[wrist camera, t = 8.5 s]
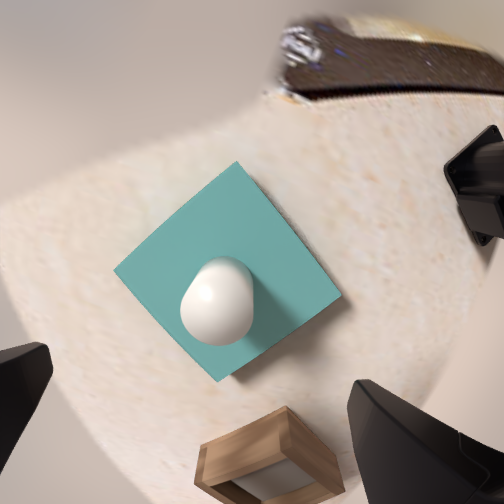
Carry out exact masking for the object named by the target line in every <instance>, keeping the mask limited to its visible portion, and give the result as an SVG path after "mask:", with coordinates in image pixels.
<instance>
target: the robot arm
mask: <svg viewBox="0 0 504 504" xmlns="http://www.w3.org/2000/svg"><path fill="white" fill-rule="evenodd" d="M493 131H494V133H493ZM450 167H451V168H452V173H451V172H450ZM444 173H445V175H446V177H447V179H448V181H449V183H450V185H451V187H452V189H453V191H454V193H455V195H456V200H457V202H458V204H459V206H460V208H461V211H462V213H463V215H464V217H465V219H466V222H467V224H468V226H469V229H470V230H472V232H473V235H474V237H475V240H476V242H477V244H478V245H480V246H485V245H487V244H488V243H489V242H490V240H491V239H492V238H493V237H494V236H495V237H499V238H502V239H504V140H503V138H502V136H501V133H500V131H499V129H498V128H497V126H496V125H489V126H488V127H487V128H486V129H485V130H483V131H482V132H481V133H480V134H479V135H478V136H477V137H476V138H474V139H473V140H472V141H471V142H470V143H469V144H468V145H467V146H465V147H464V148H463V149H462V150H461V151H460V152H459V153H457V154H456V155H455V156H454V157H453V158H452V159H450V160H449V161H448V162H447V163H446V164H445V165H444ZM482 237H483V240H482ZM52 374H53V365H52V360H51V356H50V352H49V348H48V346H47V345H46V344H43V343H40V342H32V343H29V344H25V345H21V346H18V347H13V348H9V349H6V350H1V351H0V474H1V472H2V470H3V468H4V466H5V464H6V462H7V460H8V459H9V457H10V455H11V453H12V451H13V449H14V447H15V445H16V443H17V442H18V440H19V438H20V436H21V434H22V433H23V431H24V429H25V427H26V426H27V424H28V422H29V420H30V419H31V417H32V415H33V413H34V412H35V410H36V408H37V406H38V404H39V401H40V399H41V397H42V395H43V393H44V391H45V389H46V387H47V385H48V382H49V380H50V378H51V376H52ZM347 412H348V417H349V423H350V429H351V435H352V442H353V448H354V453H355V457H356V460H357V464H358V467H359V471H360V474H361V478H362V481H363V485H364V488H365V492H366V495H367V499H368V502H369V504H504V453H503V452H500V451H498V450H495V449H493V448H490V447H488V446H486V445H484V444H482V443H480V442H478V441H476V440H474V439H472V438H470V437H468V436H466V435H464V434H463V433H461V432H459V433H458V431H457V430H455V429H454V428H452V427H450V426H448V425H446V424H444V423H443V422H441V421H439V420H437V419H436V418H434V417H432V416H430V415H429V414H427V413H425V412H423V411H422V410H420V409H418V408H417V407H415V406H413V405H411V404H410V403H408V402H406V401H405V400H403V399H401V398H399V397H398V396H396V395H394V394H393V393H391V392H389V391H388V390H386V389H384V388H383V387H381V386H379V385H378V384H376V383H374V382H373V381H371V380H369V379H362V380H356V381H355V382H354V384H353V387H352V390H351V393H350V397H349V400H348V404H347Z"/></svg>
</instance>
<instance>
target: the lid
mask: <svg viewBox="0 0 504 504" xmlns="http://www.w3.org/2000/svg"><path fill="white" fill-rule="evenodd" d="M113 271H114V272H115V273H116V274H117V276H118V277H119V278H120V279H121V280H122V282H123V283H124V284H125V285H126V286H127V288H128V289H129V290H130V291H131V292H132V293H133V295H134V296H135V297H136V298H137V299H138V300H139V301H140V303H141V304H142V305H143V306H144V307H145V308H146V309H147V311H148V312H149V313H150V314H151V315H152V316H153V317H154V318H155V319H156V321H157V322H158V323H159V324H160V325H161V326H162V327H163V328H164V329H165V330H166V331H167V332H168V333H169V335H170V336H171V337H172V338H173V339H174V340H175V341H176V342H177V343H178V344H179V345H180V346H181V347H182V348H183V349H184V350H185V351H186V352H187V353H188V354H189V355H190V356H191V357H192V358H193V359H194V360H195V361H196V362H197V363H198V364H199V365H200V366H201V367H202V368H203V369H204V370H205V371H206V372H207V373H208V374H209V375H210V376H211V377H212V378H213V379H214V380H215V381H216V382H219V381H220V380H222V379H223V378H225V377H227V376H228V375H230V374H231V373H233V372H234V371H236V370H237V369H239V368H241V367H242V366H244V365H245V364H247V363H248V362H250V361H251V360H253V359H254V358H256V357H257V356H259V355H260V354H261V353H263V352H264V351H266V350H267V349H269V348H270V347H272V346H273V345H275V344H276V343H277V342H279V341H280V340H282V339H283V338H285V337H286V336H287V335H289V334H290V333H292V332H293V331H294V330H296V329H297V328H299V327H300V326H301V325H303V324H304V323H305V322H307V321H308V320H309V319H311V318H312V317H314V316H315V315H316V314H318V313H319V312H320V311H322V310H323V309H324V308H326V307H327V306H328V305H329V304H331V303H332V302H333V301H335V300H336V299H337V298H339V297H340V296H341V295H342V294H341V293H340V292H339V290H338V289H337V288H336V286H335V285H334V284H333V282H332V281H331V280H330V278H329V277H328V276H327V274H326V273H325V272H324V270H323V269H322V268H321V266H320V265H319V264H318V262H317V261H316V260H315V258H314V257H313V256H312V254H311V253H310V252H309V251H308V249H307V248H306V247H305V245H304V244H303V243H302V241H301V240H300V239H299V238H298V236H297V235H296V234H295V233H294V231H293V230H292V229H291V227H290V226H289V225H288V224H287V222H286V221H285V220H284V219H283V217H282V216H281V215H280V213H279V212H278V211H277V210H276V208H275V207H274V206H273V205H272V203H271V202H270V201H269V200H268V199H267V197H266V196H265V195H264V194H263V192H262V191H261V190H260V189H259V187H258V186H257V185H256V184H255V182H254V181H253V180H252V179H251V178H250V176H249V175H248V174H247V173H246V172H245V170H244V169H243V168H242V167H241V166H240V164H239V163H238V162H237V161H236V162H235V163H233V164H232V165H231V166H230V167H228V168H227V169H226V170H225V171H224V172H222V173H221V174H220V175H219V176H217V177H216V178H215V179H214V180H213V181H211V182H210V183H209V184H208V185H207V186H205V187H204V188H203V189H202V190H201V191H200V192H198V193H197V194H196V195H195V196H194V197H193V198H191V199H190V200H189V201H188V202H187V203H186V204H184V205H183V206H182V207H181V208H180V209H179V210H178V211H176V212H175V213H174V214H173V215H172V216H171V217H170V218H169V219H167V220H166V221H165V222H164V223H163V224H162V225H161V226H160V227H159V228H157V229H156V230H155V231H154V232H153V233H152V234H151V235H150V236H149V237H148V238H147V239H145V240H144V241H143V242H142V243H141V244H140V245H139V246H138V247H137V248H136V249H135V250H134V251H133V252H132V253H131V254H130V255H128V256H127V257H126V258H125V259H124V260H123V261H122V262H121V263H120V264H119V265H118V266H117V267H116V268H115V269H114V270H113Z"/></svg>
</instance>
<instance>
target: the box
mask: <svg viewBox="0 0 504 504" xmlns="http://www.w3.org/2000/svg"><path fill="white" fill-rule="evenodd" d="M194 485H196V486H197V487H199V488H200V489H202V490H203V491H205V492H206V493H208V494H209V495H211V496H212V497H214V498H216V499H217V500H219V501H220V502H222V503H224V504H318V503H320V502H323V501H325V500H328V499H330V498H332V497H335V496H337V495H339V494H341V493H344V492H345V488H344V484H343V481H342V477H341V473H340V470H339V466H338V463H337V459H336V456H335V455H334V454H333V453H332V452H331V451H330V450H329V449H328V448H327V447H326V446H325V445H324V444H323V443H322V442H321V441H320V440H319V439H318V438H317V437H316V436H315V435H314V434H313V433H312V432H311V431H310V430H309V429H308V428H307V427H306V426H305V425H304V424H303V423H302V422H301V421H300V420H299V419H298V418H297V416H296V415H295V414H294V413H293V412H292V411H291V410H290V409H289V408H288V407H287V406H284V407H282V408H280V409H278V410H276V411H274V412H272V413H270V414H268V415H266V416H264V417H262V418H260V419H258V420H256V421H254V422H252V423H250V424H248V425H246V426H244V427H242V428H239V429H237V430H235V431H233V432H231V433H228V434H226V435H224V436H222V437H219V438H217V439H215V440H212V441H210V442H207V443H205V444H203V445H201V447H200V452H199V457H198V463H197V468H196V474H195V479H194Z"/></svg>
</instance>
